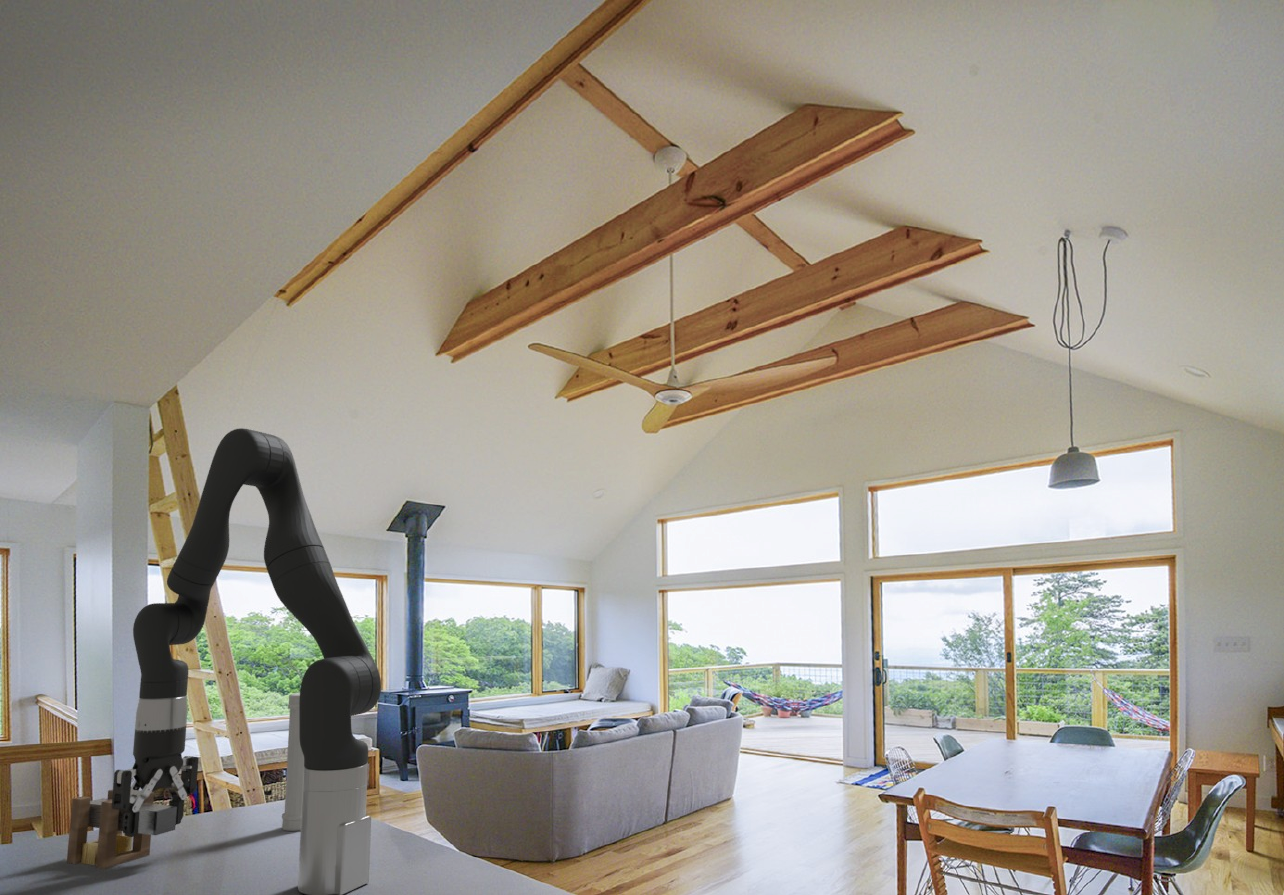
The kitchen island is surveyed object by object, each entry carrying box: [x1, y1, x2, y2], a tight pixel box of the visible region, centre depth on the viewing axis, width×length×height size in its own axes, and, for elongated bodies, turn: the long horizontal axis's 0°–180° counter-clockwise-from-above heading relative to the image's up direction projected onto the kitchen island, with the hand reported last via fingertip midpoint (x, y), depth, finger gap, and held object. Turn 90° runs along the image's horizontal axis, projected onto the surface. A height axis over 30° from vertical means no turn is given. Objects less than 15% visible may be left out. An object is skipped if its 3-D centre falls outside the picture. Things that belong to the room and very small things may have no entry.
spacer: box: [80, 833, 133, 866], centre depth 145 cm, size 3×7×3 cm
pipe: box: [281, 662, 304, 832], centre depth 165 cm, size 6×6×30 cm
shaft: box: [88, 797, 177, 836], centre depth 145 cm, size 18×4×4 cm, turn 68°
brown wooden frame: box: [66, 789, 155, 869], centre depth 146 cm, size 9×8×10 cm
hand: (153, 829), depth 142 cm, fingers open, 7 cm apart
